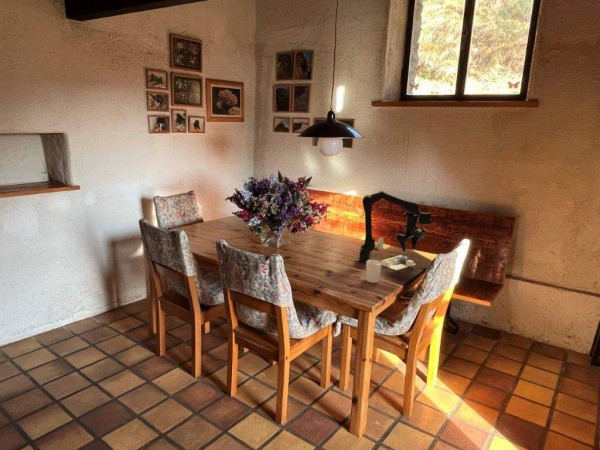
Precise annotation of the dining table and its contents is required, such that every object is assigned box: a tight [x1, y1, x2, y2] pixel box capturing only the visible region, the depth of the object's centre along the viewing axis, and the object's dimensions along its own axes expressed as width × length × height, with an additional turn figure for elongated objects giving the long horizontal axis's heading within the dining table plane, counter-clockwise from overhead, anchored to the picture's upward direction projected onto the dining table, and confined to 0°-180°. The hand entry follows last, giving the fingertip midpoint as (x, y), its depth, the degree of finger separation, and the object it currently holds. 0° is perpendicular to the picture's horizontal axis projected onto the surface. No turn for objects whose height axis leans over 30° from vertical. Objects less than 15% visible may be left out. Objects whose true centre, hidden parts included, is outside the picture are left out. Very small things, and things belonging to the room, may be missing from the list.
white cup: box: [365, 259, 383, 284], centre depth 221 cm, size 8×8×10 cm
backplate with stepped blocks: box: [380, 254, 416, 271], centre depth 246 cm, size 18×11×4 cm, turn 129°
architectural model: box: [375, 237, 384, 251], centre depth 280 cm, size 3×7×7 cm, turn 146°
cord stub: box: [398, 257, 415, 267], centre depth 247 cm, size 3×10×3 cm, turn 39°
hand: (408, 250), depth 244 cm, fingers open, 9 cm apart
